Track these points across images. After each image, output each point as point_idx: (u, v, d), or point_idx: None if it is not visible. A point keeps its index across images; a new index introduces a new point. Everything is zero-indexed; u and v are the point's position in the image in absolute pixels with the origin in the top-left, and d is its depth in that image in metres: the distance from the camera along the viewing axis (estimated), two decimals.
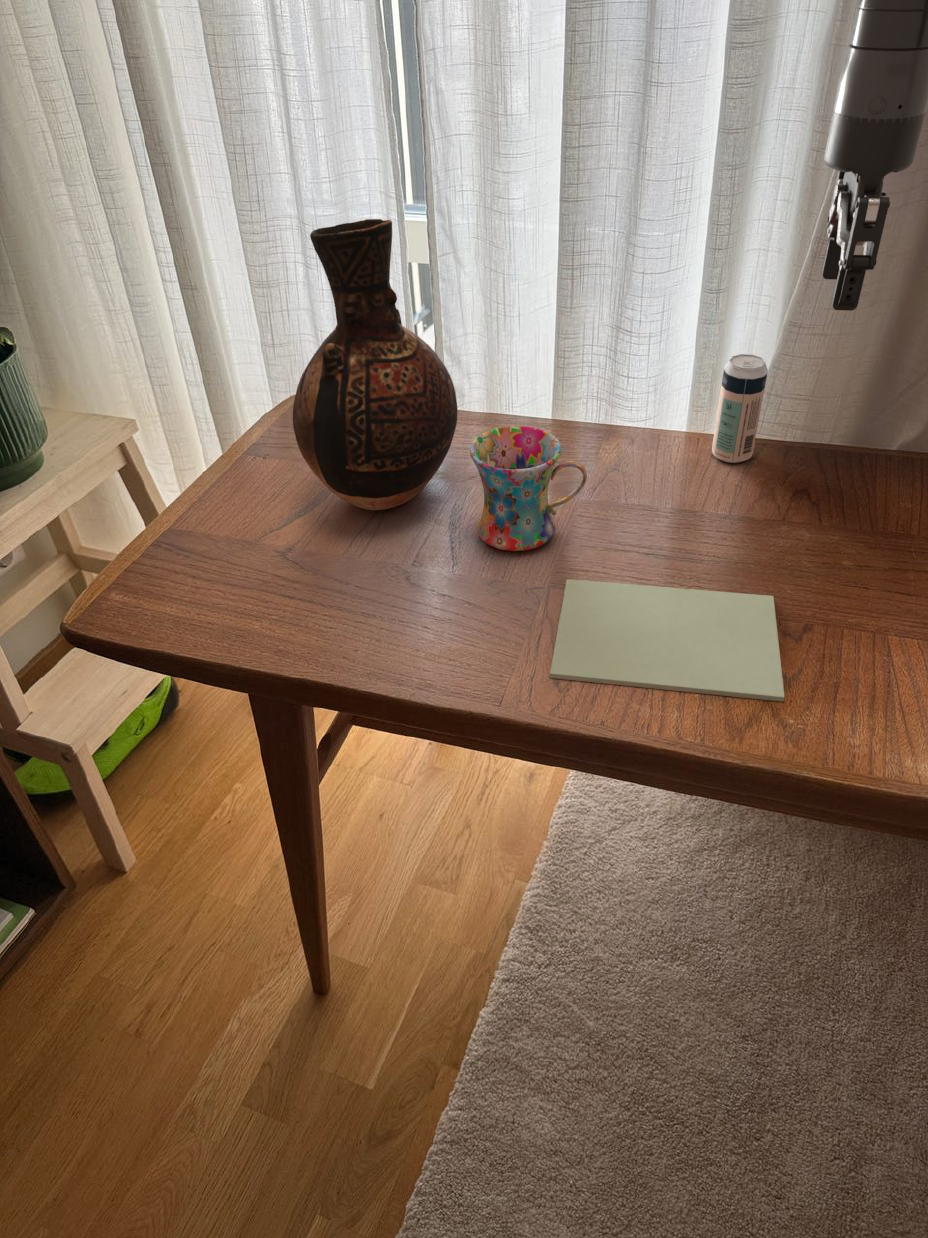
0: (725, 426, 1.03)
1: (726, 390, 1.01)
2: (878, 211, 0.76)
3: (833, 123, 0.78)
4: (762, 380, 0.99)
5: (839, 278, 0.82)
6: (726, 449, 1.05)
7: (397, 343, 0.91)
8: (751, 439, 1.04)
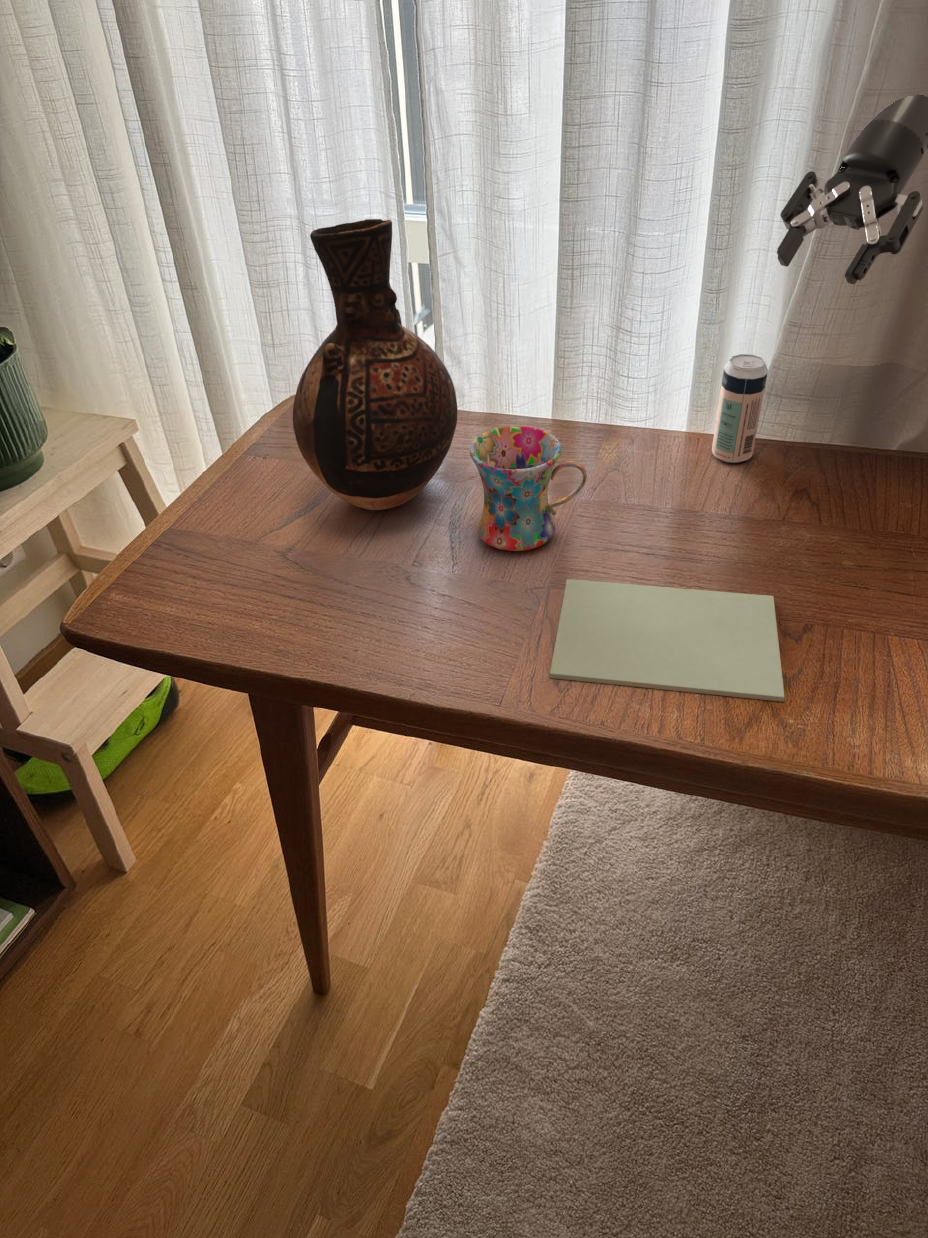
0: (725, 426, 1.03)
1: (726, 390, 1.01)
2: None
3: None
4: (762, 380, 0.99)
5: None
6: (726, 449, 1.05)
7: (397, 343, 0.91)
8: (751, 439, 1.04)
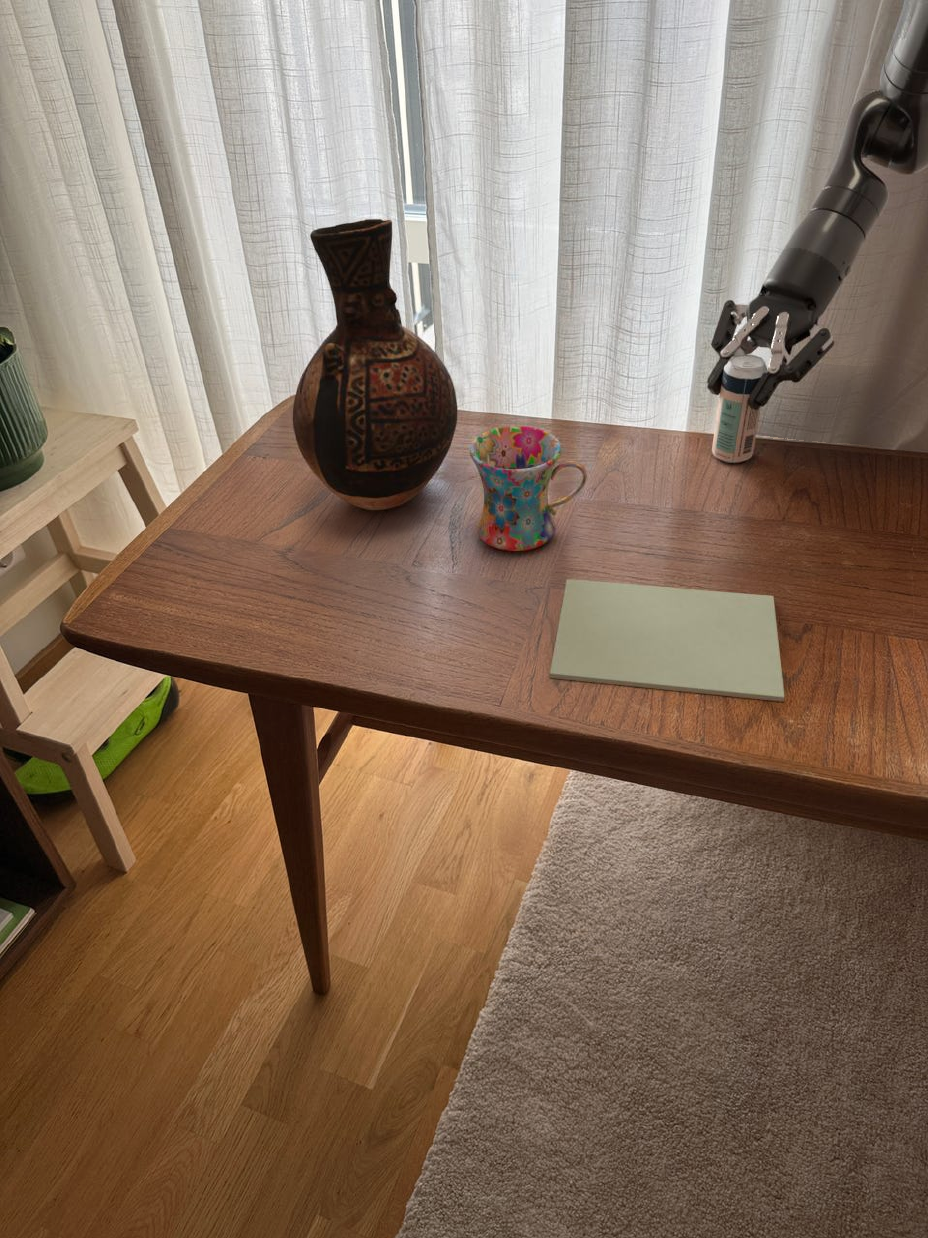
0: (725, 426, 1.03)
1: (726, 390, 1.01)
2: None
3: None
4: None
5: None
6: (726, 449, 1.05)
7: (397, 343, 0.91)
8: (751, 439, 1.04)
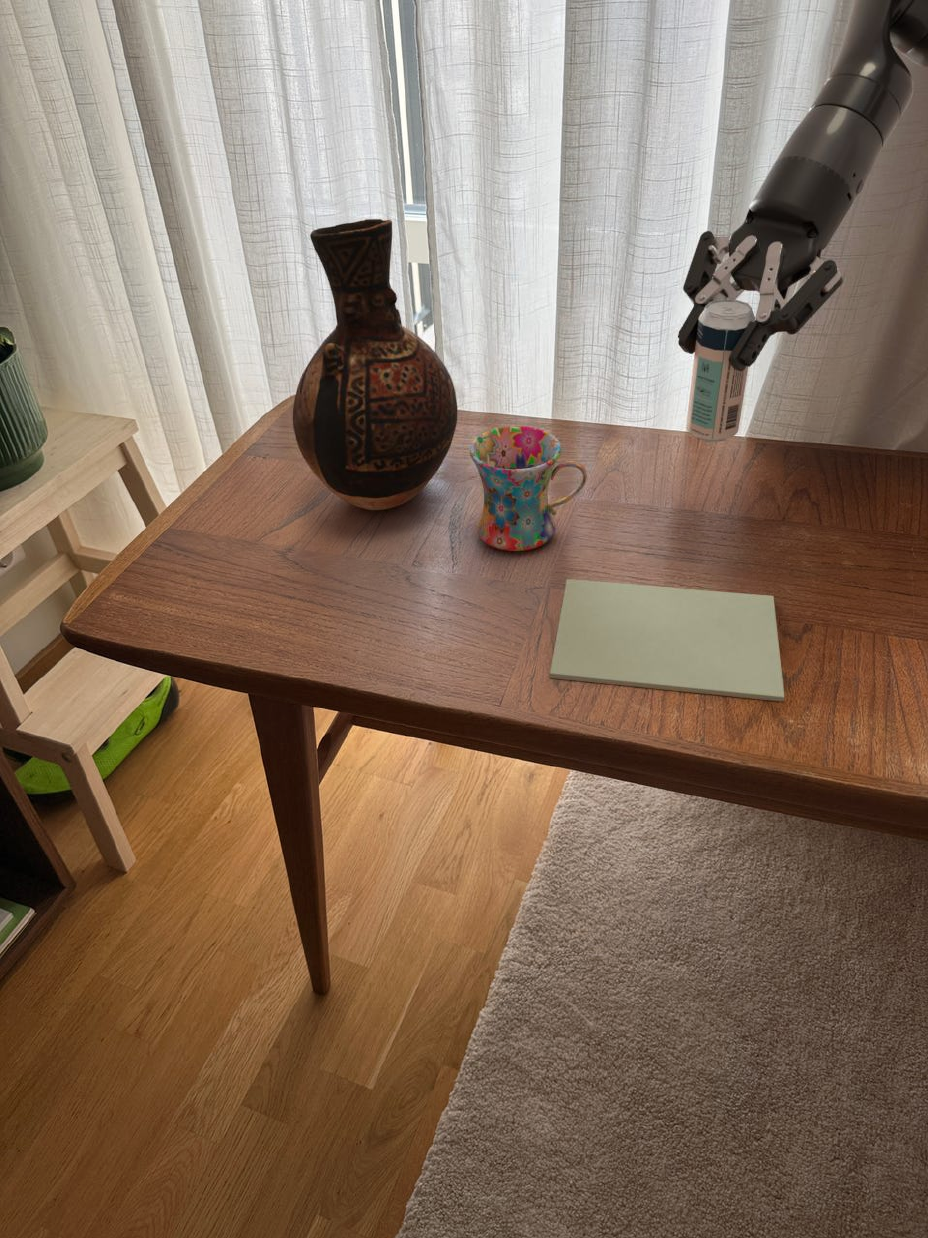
0: (702, 394, 0.80)
1: (701, 346, 0.78)
2: None
3: None
4: None
5: None
6: (704, 424, 0.82)
7: (397, 343, 0.91)
8: (736, 410, 0.81)
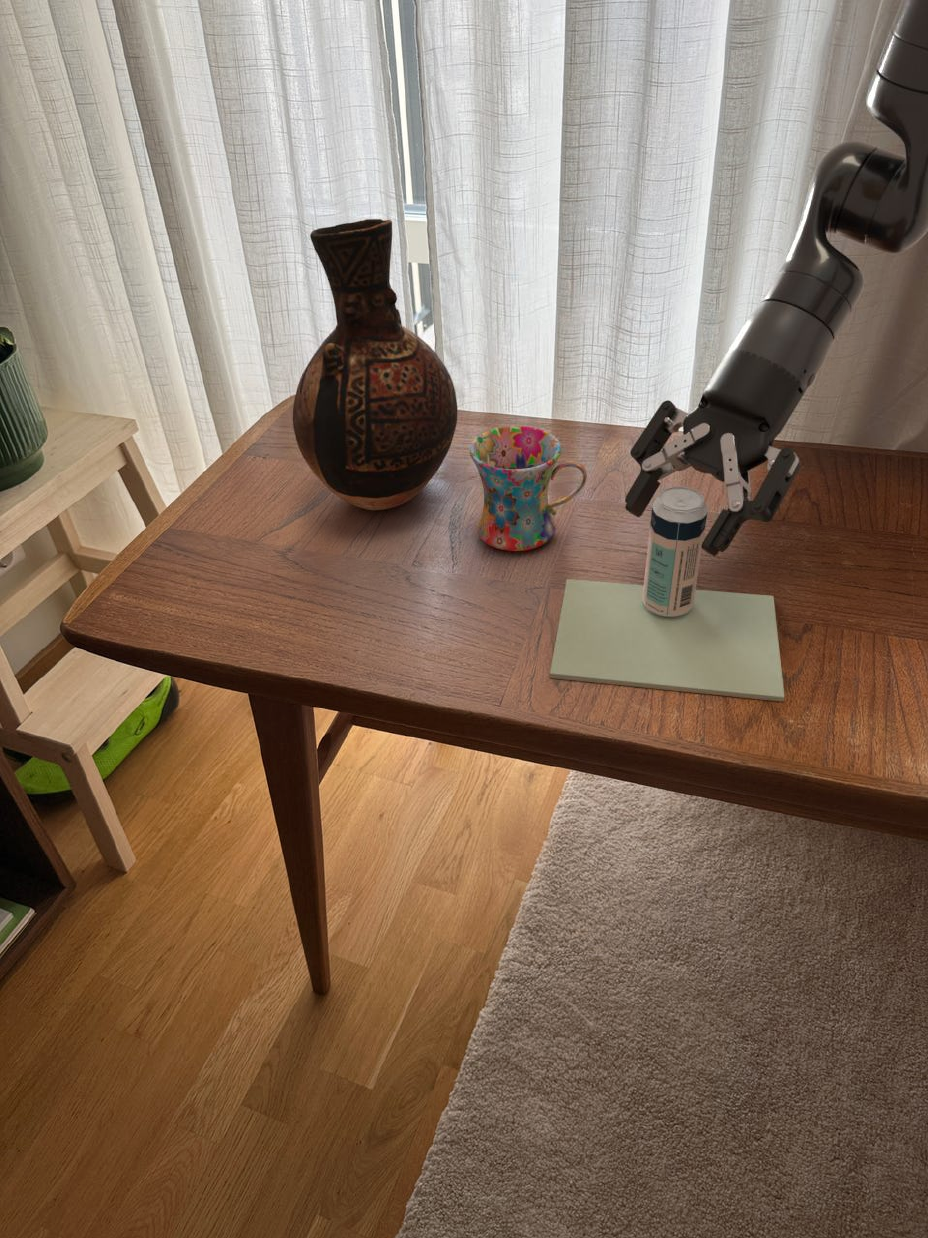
0: (656, 575, 0.81)
1: (655, 533, 0.79)
2: None
3: None
4: (700, 523, 0.77)
5: None
6: (658, 601, 0.82)
7: (397, 343, 0.91)
8: (690, 590, 0.82)
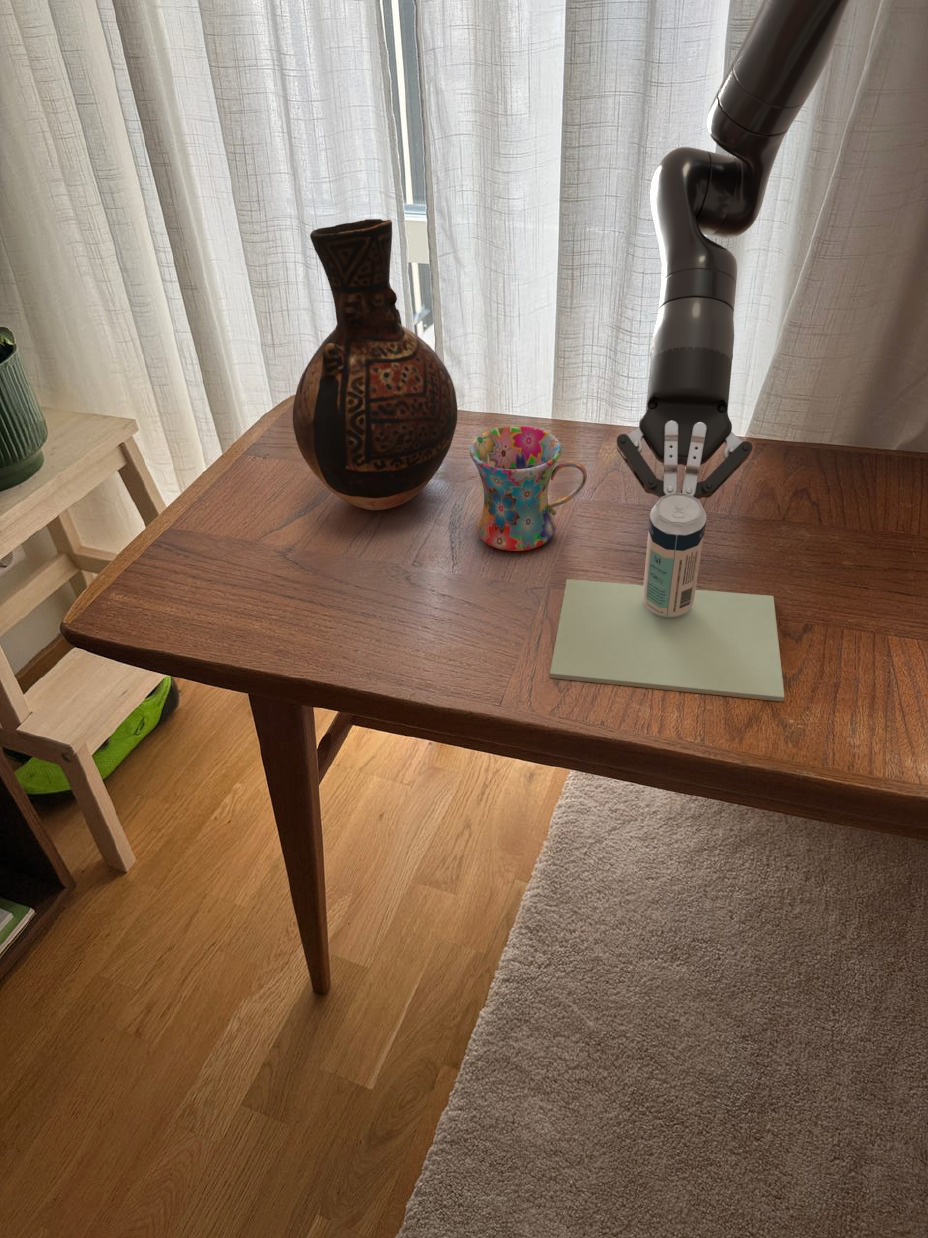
0: (655, 580, 0.80)
1: (653, 542, 0.78)
2: None
3: None
4: (698, 533, 0.76)
5: None
6: (658, 603, 0.82)
7: (397, 343, 0.91)
8: (689, 592, 0.81)
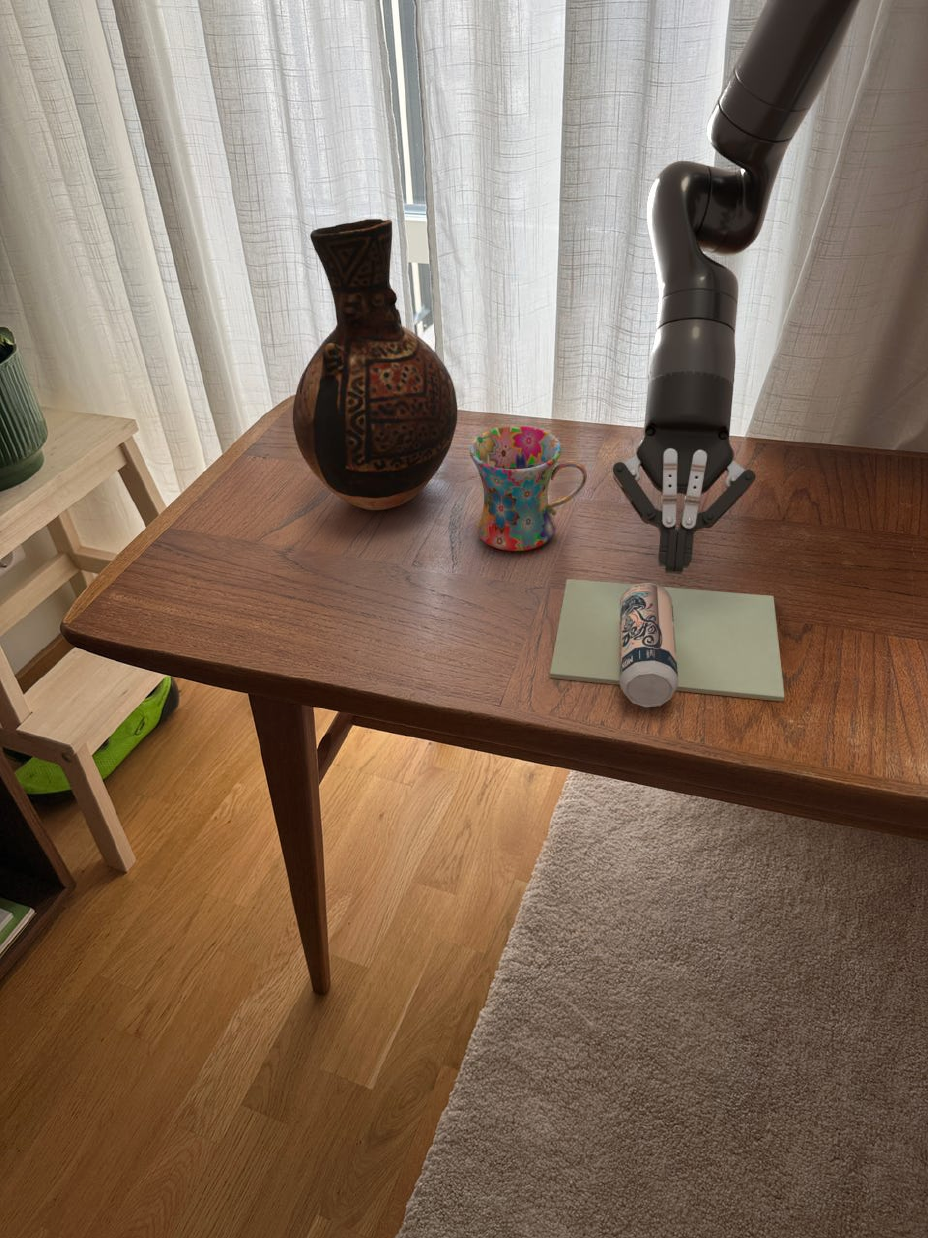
0: None
1: None
2: None
3: None
4: (677, 675, 0.74)
5: None
6: None
7: (397, 343, 0.91)
8: (673, 618, 0.79)
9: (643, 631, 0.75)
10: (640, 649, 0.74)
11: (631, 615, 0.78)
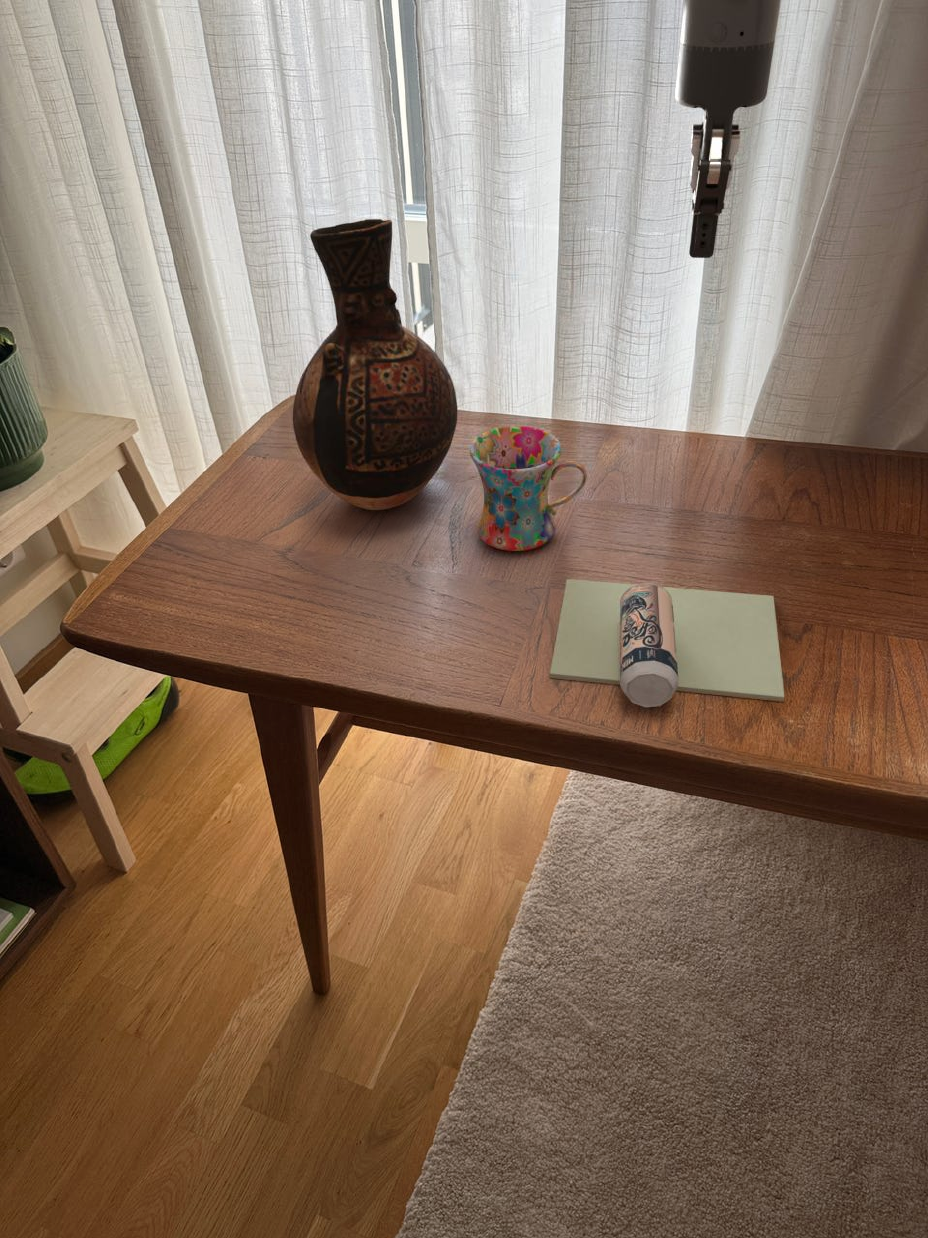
0: None
1: None
2: (719, 175, 0.74)
3: (679, 55, 0.73)
4: (677, 675, 0.74)
5: (693, 224, 0.81)
6: None
7: (397, 343, 0.91)
8: (673, 619, 0.79)
9: (644, 631, 0.75)
10: (640, 649, 0.74)
11: (631, 615, 0.78)
